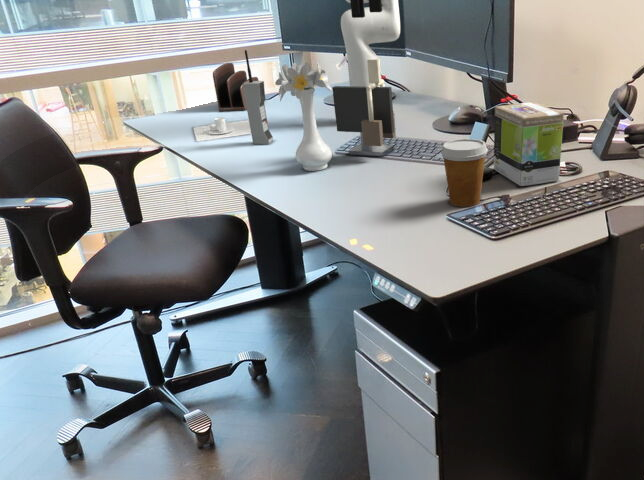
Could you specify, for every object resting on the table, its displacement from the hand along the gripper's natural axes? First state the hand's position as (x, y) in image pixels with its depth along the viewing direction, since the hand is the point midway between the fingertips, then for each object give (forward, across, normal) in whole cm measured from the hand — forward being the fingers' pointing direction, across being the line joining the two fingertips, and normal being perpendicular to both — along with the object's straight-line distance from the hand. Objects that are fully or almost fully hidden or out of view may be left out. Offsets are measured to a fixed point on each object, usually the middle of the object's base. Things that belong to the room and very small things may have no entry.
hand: (367, 14), depth 156 cm
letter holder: (+34, +50, +79) cm, 100 cm away
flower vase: (+33, -15, +11) cm, 38 cm away
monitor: (+33, 0, +2) cm, 33 cm away
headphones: (+29, -2, -2) cm, 29 cm away
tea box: (+33, -11, -43) cm, 55 cm away
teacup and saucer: (+34, +16, +61) cm, 72 cm away
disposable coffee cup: (+32, -31, -35) cm, 57 cm away
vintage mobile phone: (+34, +4, +39) cm, 52 cm away
